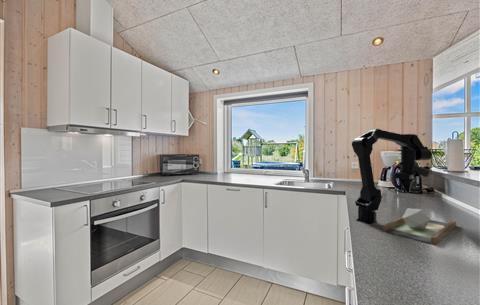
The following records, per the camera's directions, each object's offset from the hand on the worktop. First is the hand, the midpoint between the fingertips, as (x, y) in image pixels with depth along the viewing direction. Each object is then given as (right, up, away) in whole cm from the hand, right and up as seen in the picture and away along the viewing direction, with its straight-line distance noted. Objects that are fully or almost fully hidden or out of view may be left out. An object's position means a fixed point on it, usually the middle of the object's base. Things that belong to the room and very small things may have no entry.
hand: (407, 192), depth 104 cm
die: (-7, -13, -13) cm, 19 cm away
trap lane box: (-4, -13, -13) cm, 19 cm away
